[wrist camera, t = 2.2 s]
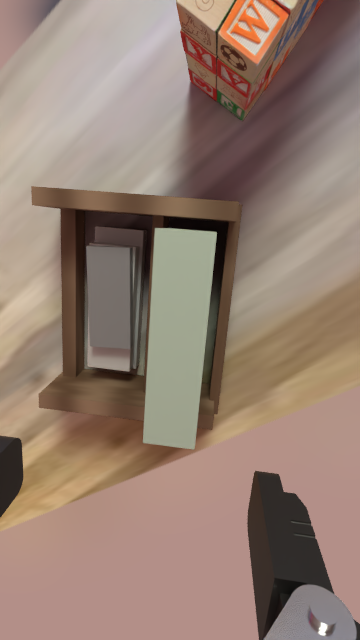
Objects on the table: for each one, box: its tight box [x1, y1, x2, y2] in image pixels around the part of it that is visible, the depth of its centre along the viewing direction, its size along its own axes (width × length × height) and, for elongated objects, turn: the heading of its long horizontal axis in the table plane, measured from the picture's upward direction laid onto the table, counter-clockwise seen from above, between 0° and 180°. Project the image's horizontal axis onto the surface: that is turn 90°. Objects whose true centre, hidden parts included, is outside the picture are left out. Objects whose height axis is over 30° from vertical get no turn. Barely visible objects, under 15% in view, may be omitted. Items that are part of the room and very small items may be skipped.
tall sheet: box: [143, 228, 217, 450], centre depth 31 cm, size 4×16×14 cm, turn 175°
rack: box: [31, 186, 242, 430], centre depth 34 cm, size 18×21×7 cm
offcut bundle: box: [86, 226, 147, 372], centre depth 36 cm, size 5×15×5 cm, turn 175°
